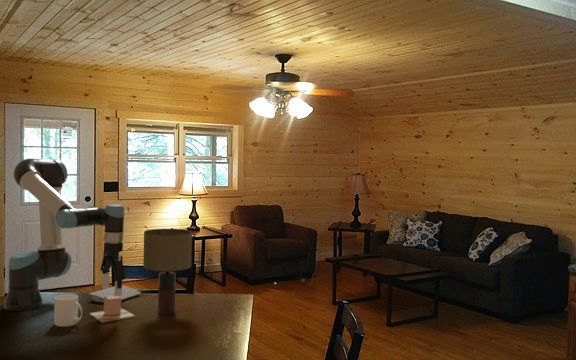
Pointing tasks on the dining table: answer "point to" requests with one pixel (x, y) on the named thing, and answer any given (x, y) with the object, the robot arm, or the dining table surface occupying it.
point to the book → (126, 293)
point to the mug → (66, 310)
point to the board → (105, 318)
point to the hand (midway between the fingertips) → (111, 292)
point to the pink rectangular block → (112, 305)
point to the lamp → (167, 261)
